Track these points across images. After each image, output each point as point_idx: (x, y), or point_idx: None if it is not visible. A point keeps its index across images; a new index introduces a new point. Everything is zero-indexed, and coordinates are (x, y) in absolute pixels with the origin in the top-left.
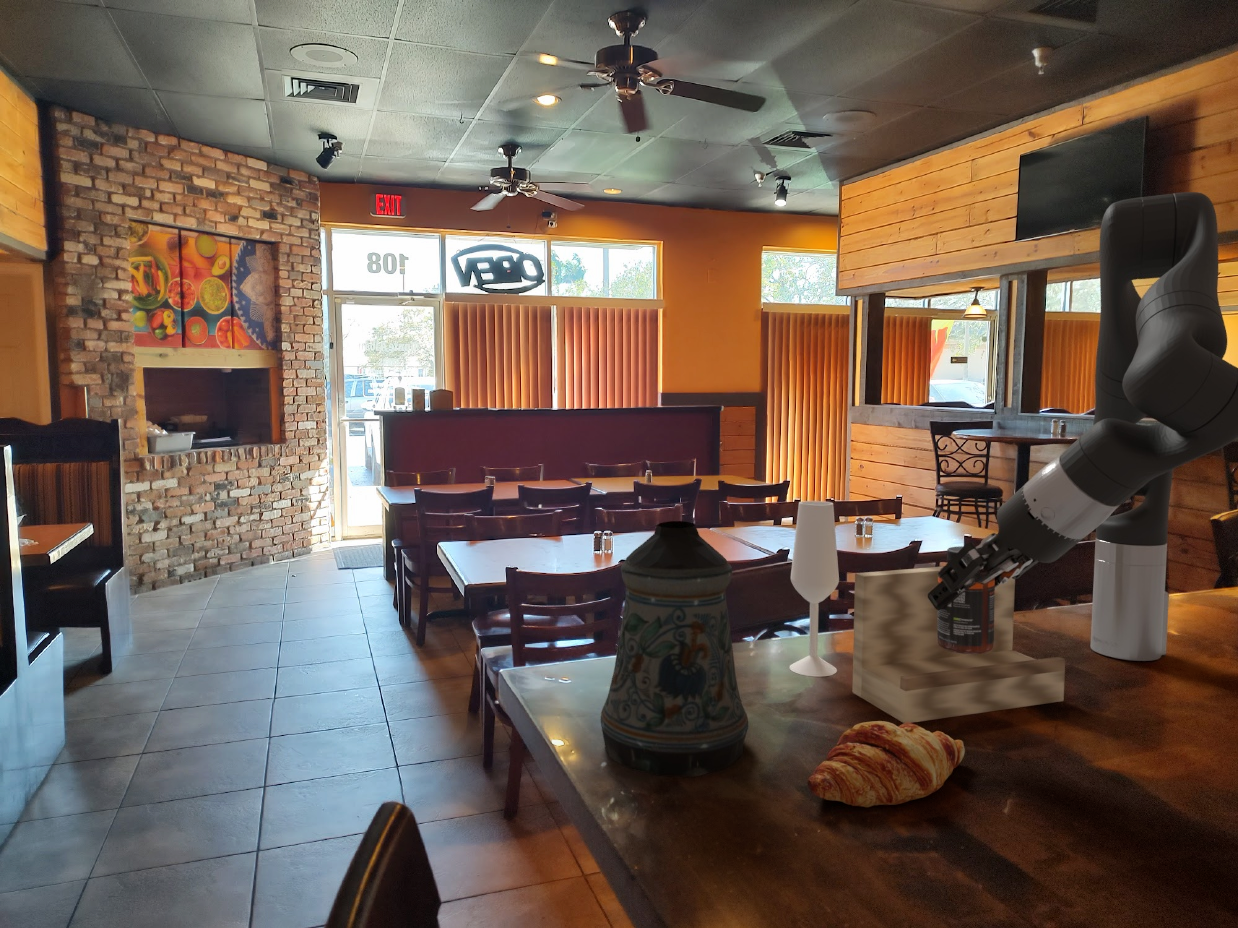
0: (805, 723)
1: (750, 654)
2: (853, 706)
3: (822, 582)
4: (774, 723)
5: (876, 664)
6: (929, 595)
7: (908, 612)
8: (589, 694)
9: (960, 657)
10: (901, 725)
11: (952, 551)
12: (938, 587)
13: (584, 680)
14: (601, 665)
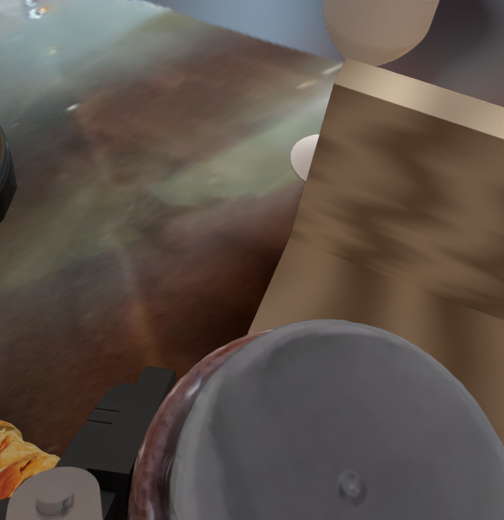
0: (112, 268)
1: (300, 85)
2: (236, 279)
3: (353, 32)
4: (79, 239)
5: (321, 248)
6: (115, 388)
7: (436, 215)
8: (12, 49)
9: None
10: (4, 479)
11: (187, 419)
12: (77, 437)
13: (52, 24)
14: (113, 10)
